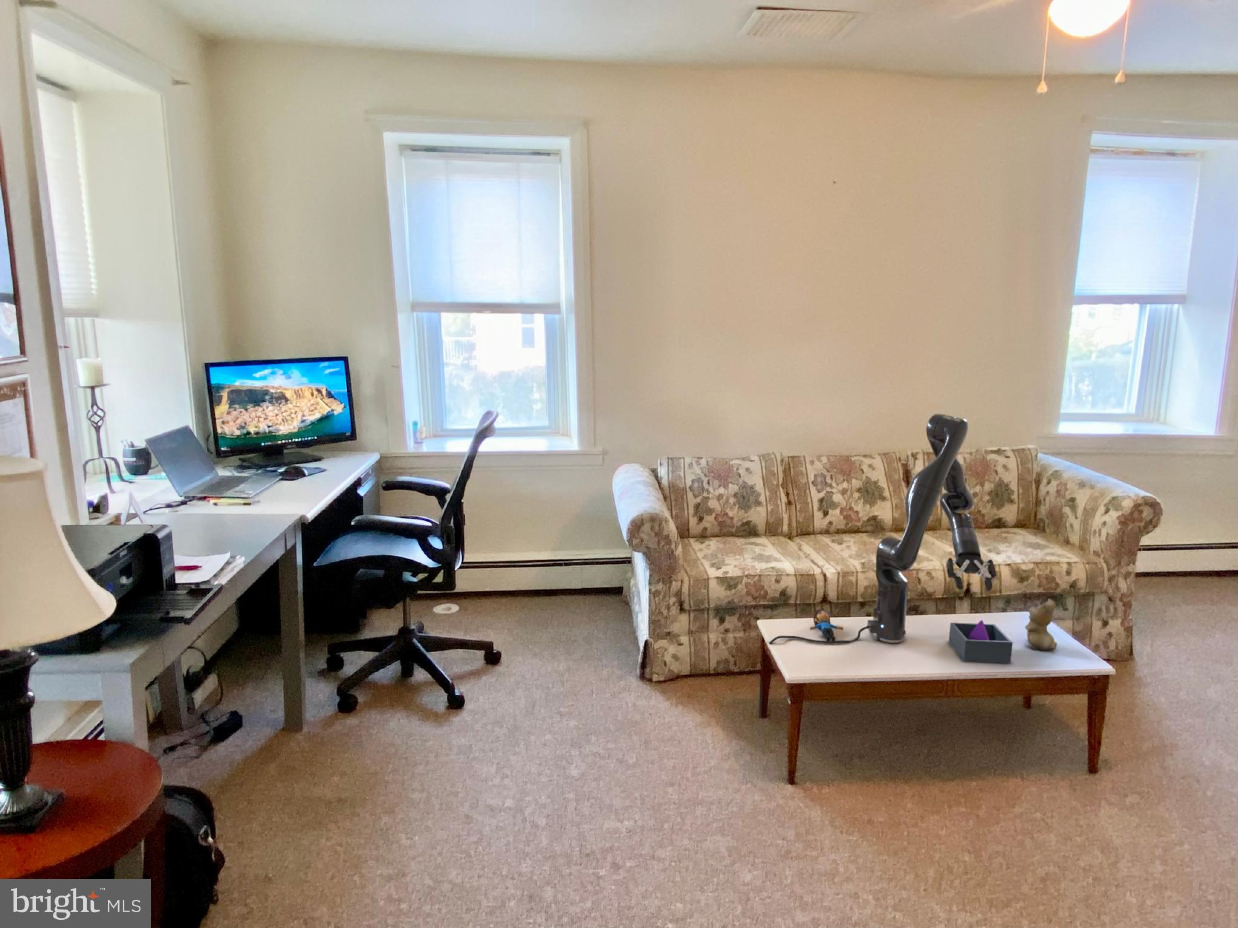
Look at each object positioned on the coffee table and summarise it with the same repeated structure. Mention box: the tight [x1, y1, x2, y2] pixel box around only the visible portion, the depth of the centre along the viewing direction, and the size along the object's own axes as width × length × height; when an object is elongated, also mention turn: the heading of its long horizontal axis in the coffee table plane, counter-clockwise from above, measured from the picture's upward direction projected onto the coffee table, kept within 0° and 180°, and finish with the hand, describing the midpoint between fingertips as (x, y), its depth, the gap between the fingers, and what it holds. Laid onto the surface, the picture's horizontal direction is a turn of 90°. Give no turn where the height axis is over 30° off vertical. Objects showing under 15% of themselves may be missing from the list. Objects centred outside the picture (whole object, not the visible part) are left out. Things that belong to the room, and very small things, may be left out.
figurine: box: [1024, 598, 1058, 651], centre depth 238 cm, size 10×8×15 cm
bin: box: [948, 622, 1013, 664], centre depth 233 cm, size 14×14×7 cm
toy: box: [809, 609, 844, 641], centre depth 248 cm, size 11×6×15 cm
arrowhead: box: [967, 619, 989, 640], centre depth 233 cm, size 10×2×10 cm
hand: (975, 589), depth 237 cm, fingers open, 8 cm apart
